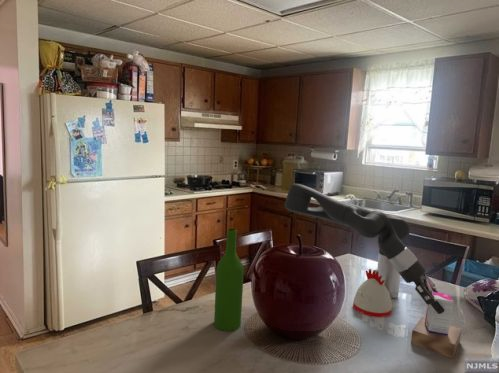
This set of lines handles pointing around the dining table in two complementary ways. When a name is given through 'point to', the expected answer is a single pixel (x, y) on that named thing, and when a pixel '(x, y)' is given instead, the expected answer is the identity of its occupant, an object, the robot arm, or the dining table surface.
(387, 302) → the kitchen timer
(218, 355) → the dining table surface
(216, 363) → the dining table surface
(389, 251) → the robot arm
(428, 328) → the supplement box
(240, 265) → the wine bottle
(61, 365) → the dining table surface
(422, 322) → the walnut block
